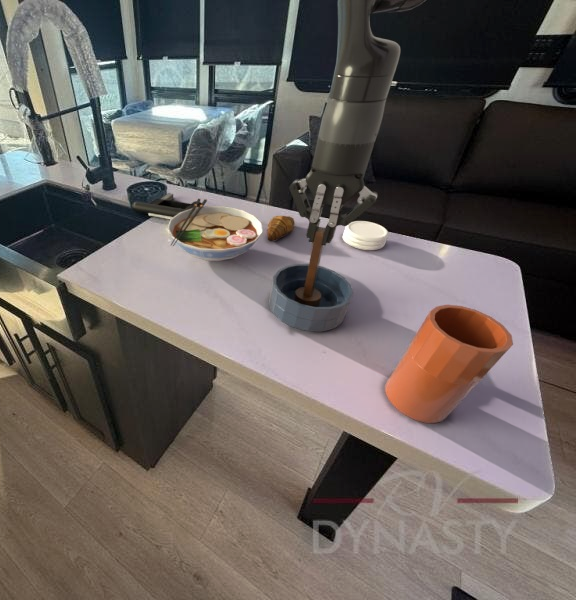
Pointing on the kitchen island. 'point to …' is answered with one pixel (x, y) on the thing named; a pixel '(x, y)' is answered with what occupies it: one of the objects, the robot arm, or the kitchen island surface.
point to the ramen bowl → (214, 231)
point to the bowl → (307, 317)
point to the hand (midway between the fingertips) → (318, 241)
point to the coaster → (365, 235)
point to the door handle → (163, 207)
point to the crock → (446, 362)
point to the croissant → (279, 227)
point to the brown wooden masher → (312, 274)
